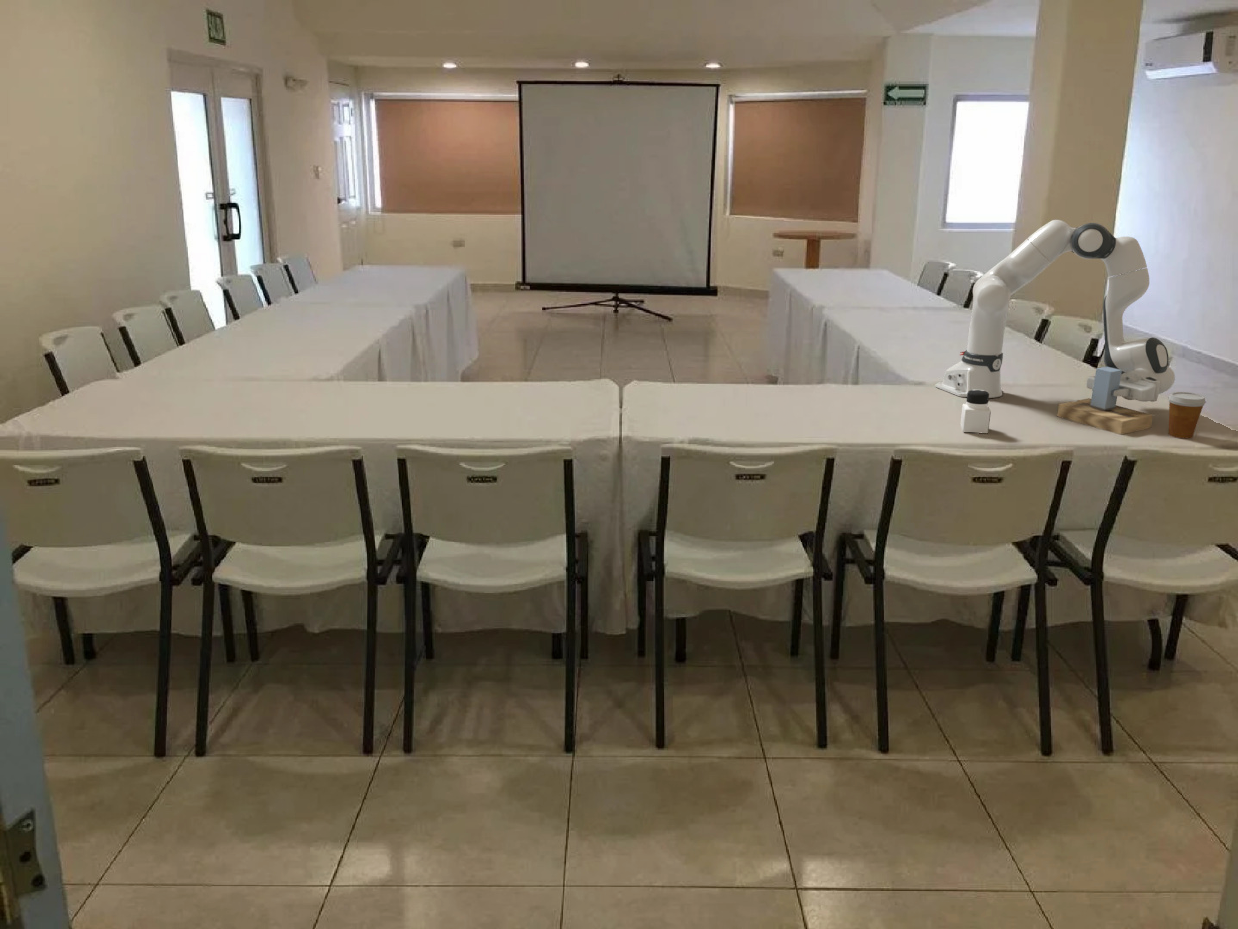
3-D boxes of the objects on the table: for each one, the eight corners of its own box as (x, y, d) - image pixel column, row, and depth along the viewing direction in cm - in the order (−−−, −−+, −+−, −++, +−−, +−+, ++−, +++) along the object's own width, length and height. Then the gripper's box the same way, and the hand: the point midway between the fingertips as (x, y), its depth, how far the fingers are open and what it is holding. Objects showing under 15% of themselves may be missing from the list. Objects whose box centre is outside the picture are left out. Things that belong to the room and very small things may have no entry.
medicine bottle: (988, 434, 296) (993, 394, 292) (962, 432, 298) (967, 393, 294) (984, 427, 303) (989, 388, 299) (960, 426, 304) (964, 387, 300)
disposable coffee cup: (1155, 431, 299) (1162, 391, 295) (1185, 430, 300) (1193, 391, 296) (1174, 440, 290) (1182, 400, 286) (1206, 439, 291) (1214, 399, 287)
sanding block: (1089, 406, 309) (1096, 368, 305) (1100, 404, 311) (1107, 366, 307) (1104, 410, 305) (1111, 372, 300) (1115, 408, 307) (1121, 370, 303)
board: (1057, 416, 314) (1059, 403, 313) (1087, 410, 320) (1089, 398, 319) (1120, 434, 296) (1122, 421, 294) (1150, 427, 302) (1153, 414, 301)
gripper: (1104, 368, 319) (1075, 373, 313) (1165, 382, 302) (1135, 387, 296) (1101, 387, 321) (1072, 393, 315) (1161, 402, 304) (1132, 408, 298)
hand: (1103, 390), depth 305 cm, fingers closed on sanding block, 5 cm apart
